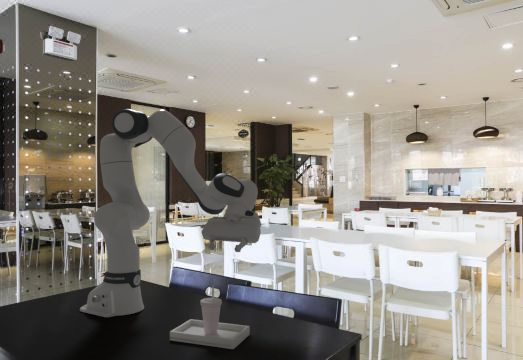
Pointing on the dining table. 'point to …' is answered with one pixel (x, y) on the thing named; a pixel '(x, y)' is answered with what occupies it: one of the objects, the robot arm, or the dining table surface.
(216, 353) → the dining table surface
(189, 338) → the tray
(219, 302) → the smoothie
